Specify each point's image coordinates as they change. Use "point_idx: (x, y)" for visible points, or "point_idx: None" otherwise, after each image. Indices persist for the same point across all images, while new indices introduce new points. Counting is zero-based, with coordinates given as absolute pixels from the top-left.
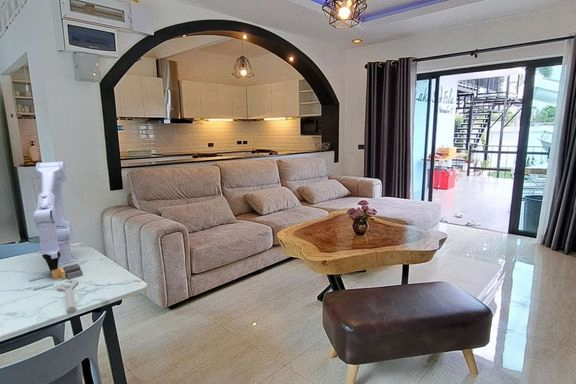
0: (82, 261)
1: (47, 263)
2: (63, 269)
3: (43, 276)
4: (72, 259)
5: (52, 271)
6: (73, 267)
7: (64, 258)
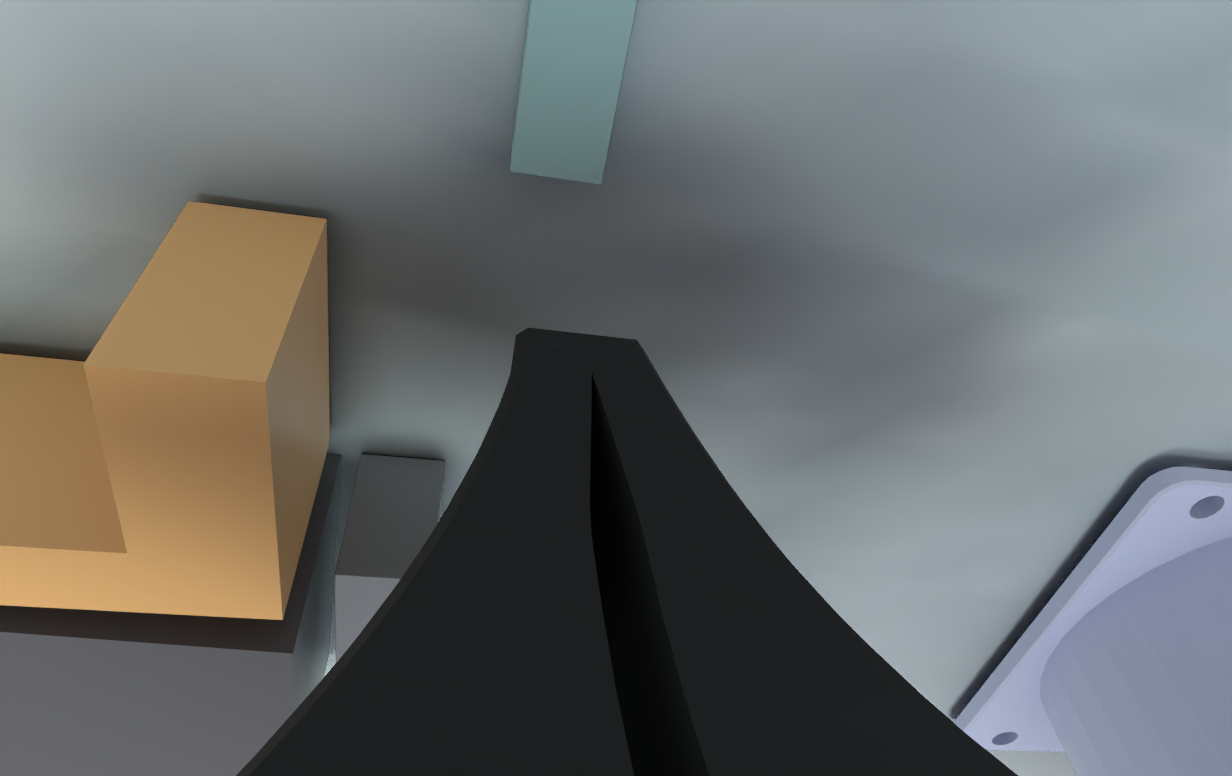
0: None
1: (564, 558)
2: (337, 573)
3: (588, 47)
4: (1042, 738)
5: (88, 367)
6: (15, 763)
7: (1105, 739)
